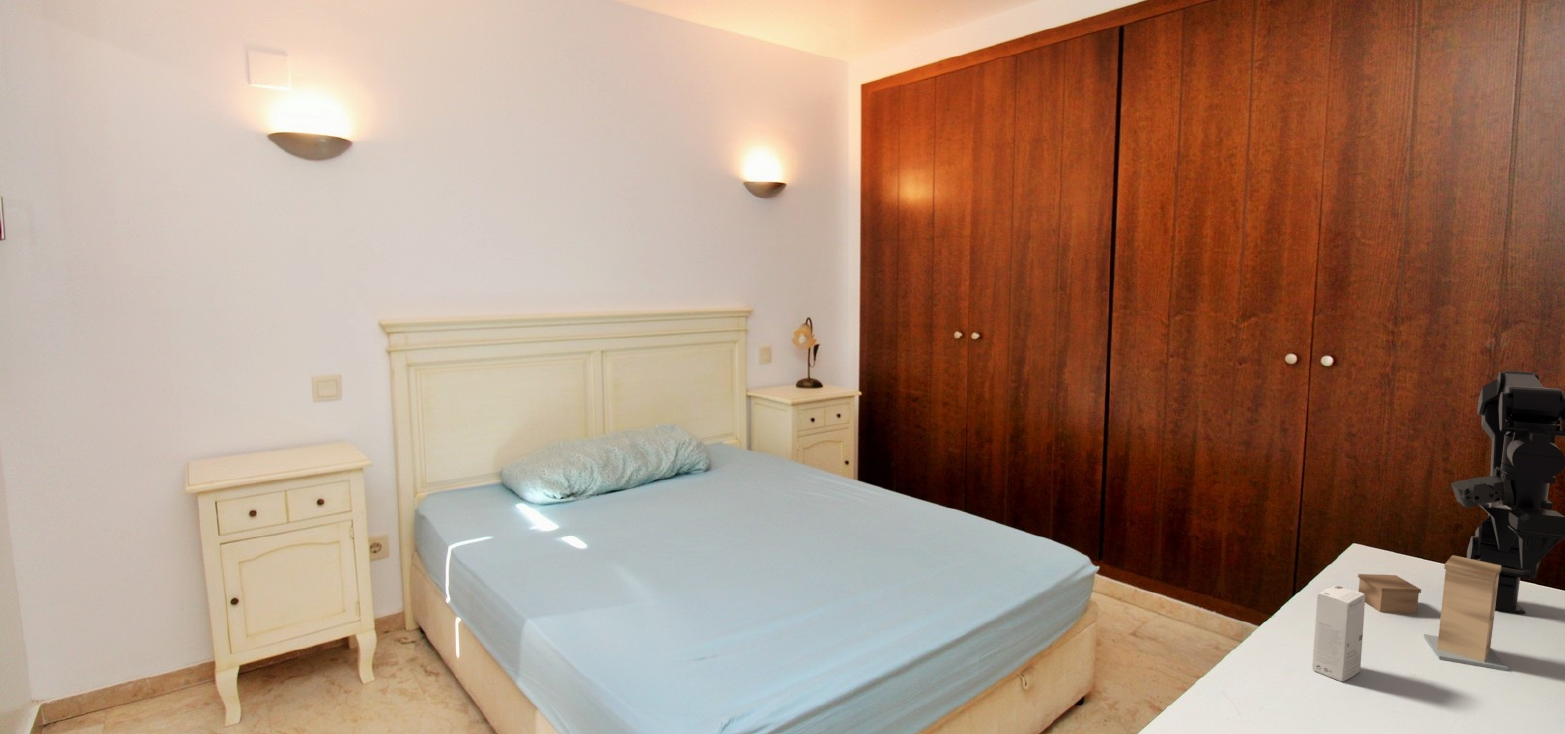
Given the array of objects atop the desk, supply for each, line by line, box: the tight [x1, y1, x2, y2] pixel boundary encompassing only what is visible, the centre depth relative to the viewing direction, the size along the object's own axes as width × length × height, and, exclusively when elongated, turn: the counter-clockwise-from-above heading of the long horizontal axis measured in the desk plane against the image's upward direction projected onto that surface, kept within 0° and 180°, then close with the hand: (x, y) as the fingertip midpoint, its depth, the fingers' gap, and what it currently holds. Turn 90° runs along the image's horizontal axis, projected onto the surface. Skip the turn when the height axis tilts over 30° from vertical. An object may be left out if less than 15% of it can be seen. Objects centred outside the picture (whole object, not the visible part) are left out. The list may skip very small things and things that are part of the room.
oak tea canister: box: [1437, 554, 1501, 662], centre depth 119 cm, size 6×6×14 cm
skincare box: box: [1311, 585, 1366, 682], centre depth 114 cm, size 6×4×12 cm
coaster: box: [1423, 633, 1508, 672], centre depth 120 cm, size 8×8×1 cm
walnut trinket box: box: [1357, 573, 1422, 614], centre depth 137 cm, size 6×6×5 cm
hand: (1514, 560), depth 124 cm, fingers open, 9 cm apart
